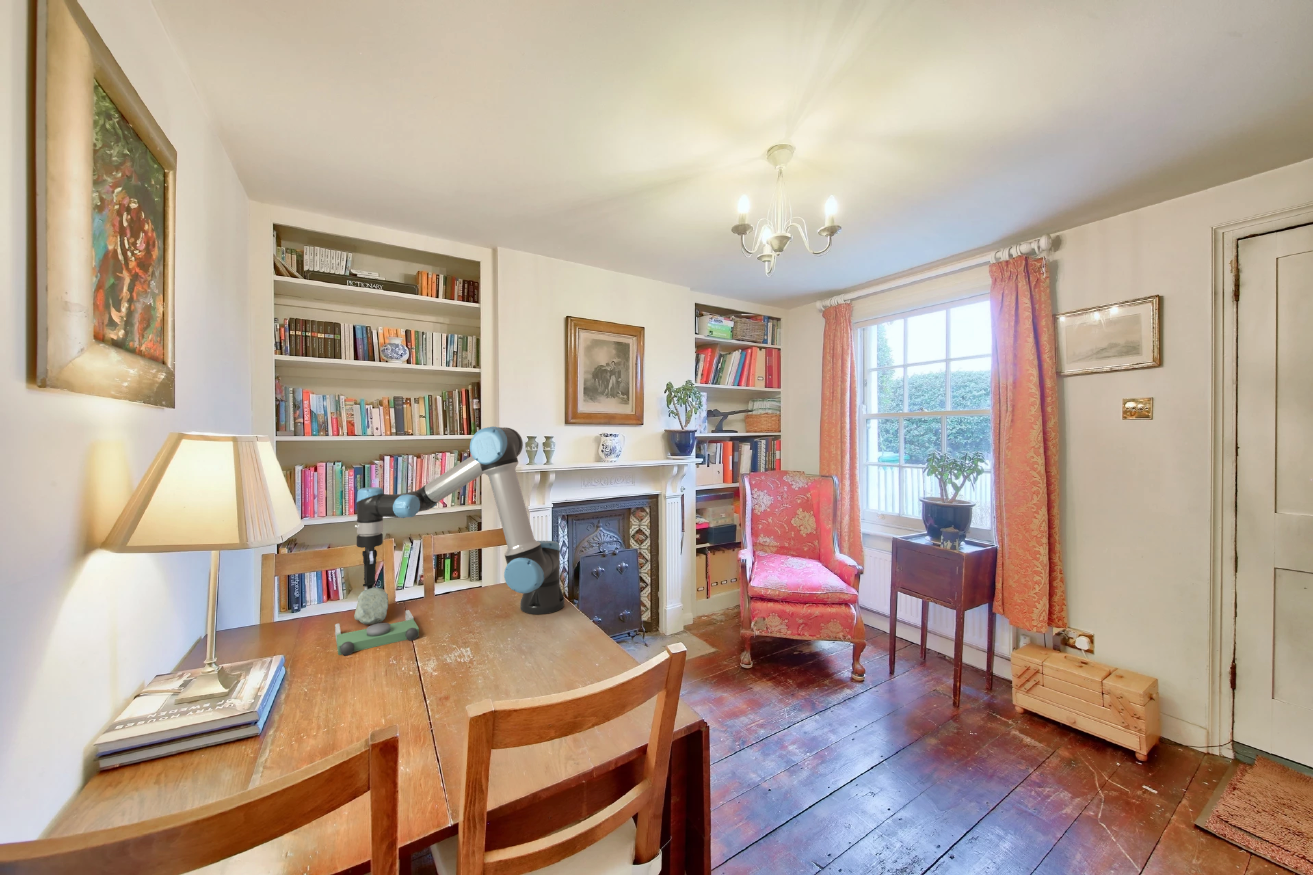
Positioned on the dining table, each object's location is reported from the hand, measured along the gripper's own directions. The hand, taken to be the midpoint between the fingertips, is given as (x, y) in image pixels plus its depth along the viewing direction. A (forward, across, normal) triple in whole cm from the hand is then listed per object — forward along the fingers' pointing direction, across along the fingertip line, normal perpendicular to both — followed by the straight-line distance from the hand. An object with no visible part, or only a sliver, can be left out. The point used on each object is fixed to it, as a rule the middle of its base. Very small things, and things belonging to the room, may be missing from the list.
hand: (369, 603), depth 159 cm
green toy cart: (+3, +21, 0) cm, 22 cm away
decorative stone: (+4, +7, 0) cm, 8 cm away
